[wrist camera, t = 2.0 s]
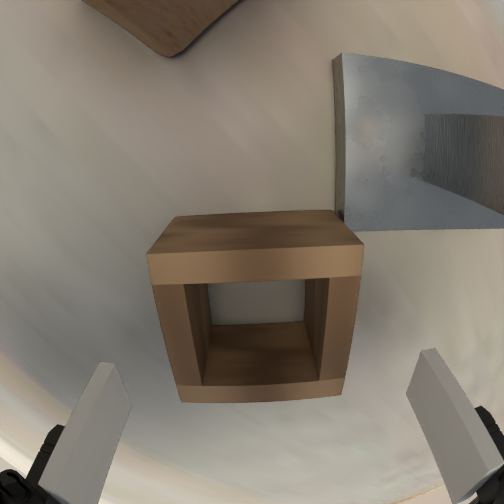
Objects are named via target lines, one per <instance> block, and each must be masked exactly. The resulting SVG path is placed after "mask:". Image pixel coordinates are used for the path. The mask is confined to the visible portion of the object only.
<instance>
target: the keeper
mask: <svg viewBox="0 0 504 504" xmlns="http://www.w3.org/2000/svg"><path fill="white" fill-rule="evenodd" d="M332 62H333V78H334V98H335V132H336V189H335V214H336V215H337V217H338V218H339V219H340V220H341V221H342V222H343V223H344V224H345V225H346V226H347V227H348V228H349V229H350V230H351V231H352V232H353V231H387V230H430V229H500V228H504V90H503V89H500V88H498V87H495V86H492V85H489V84H487V83H484V82H481V81H478V80H475V79H471V78H468V77H465V76H462V75H458V74H455V73H451V72H447V71H444V70H440V69H436V68H432V67H427V66H423V65H418V64H414V63H409V62H404V61H398V60H393V59H387V58H380V57H374V56H366V55H358V54H350V53H341V54H340V55H338V56H337V57H336V58H334V59H333V60H332Z"/></svg>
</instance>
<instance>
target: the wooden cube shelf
mask: <svg viewBox="0 0 504 504" xmlns="http://www.w3.org/2000/svg"><path fill="white" fill-rule="evenodd" d="M363 251H364V244H363V243H362V242H361V241H360V240H359V239H358V238H357V236H356V235H355V234H354V233H353V232H352V231H351V230H350V229H349V228H348V227H347V226H346V225H345V224H344V223H343V222H342V221H341V220H340V219H339V218H338V217H337V215H336V214H335V213H334V212H333V211H332V210H308V211H277V212H252V213H231V214H212V215H196V216H180V217H175V218H174V219H173V220H172V222H171V223H170V224H169V225H168V227H167V228H166V229H165V231H164V232H163V233H162V234H161V236H160V237H159V238H158V239H157V241H156V242H155V243H154V245H153V246H152V247H151V248H150V250H149V251H148V252H147V254H146V257H147V262H148V268H149V273H150V278H151V283H152V288H153V293H154V298H155V302H156V307H157V312H158V316H159V320H160V325H161V329H162V333H163V337H164V341H165V345H166V349H167V353H168V357H169V361H170V364H171V368H172V372H173V375H174V379H175V382H176V386H177V389H178V393H179V396H180V399H181V402H195V403H248V402H271V401H287V400H300V399H311V398H320V397H329V396H337V395H341V394H342V389H343V384H344V380H345V375H346V370H347V364H348V359H349V354H350V348H351V342H352V336H353V330H354V324H355V317H356V310H357V303H358V296H359V288H360V280H361V271H362V261H363ZM295 279H306V287H305V310H304V321H303V322H288V323H270V324H247V325H212V321H211V313H210V306H209V298H208V290H207V283H229V282H254V281H276V280H295Z"/></svg>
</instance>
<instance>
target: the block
mask: <svg viewBox="0 0 504 504" xmlns="http://www.w3.org/2000/svg"><path fill="white" fill-rule="evenodd" d="M82 1H84V2H86V3H87V4H89V5H90V6H92V7H93V8H95V9H96V10H98V11H99V12H101V13H102V14H104V15H105V16H107V17H108V18H110V19H111V20H112V21H114V22H115V23H117V24H118V25H120V26H121V27H122V28H124V29H125V30H127V31H128V32H129V33H131V34H132V35H133V36H135V37H136V38H138V39H139V40H140V41H142V42H143V43H144V44H146V45H147V46H148V47H150V48H151V49H152V50H153V51H155V52H156V53H157V54H160V55H164V56H169V57H171V56H174V55H175V54H177V53H179V52H181V51H183V50H184V49H185V48H186V47H187V46H188V45H189V44H190V43H191V42H192V41H193V40H194V39H195V38H196V37H197V36H198V35H199V34H200V33H201V32H202V31H204V30H205V29H206V28H207V27H208V26H209V25H210V24H211V23H212V22H214V21H215V20H216V19H217V18H218V17H219V16H220V15H222V14H223V13H224V12H225V11H226V10H227V9H229V8H230V7H231V6H232V5H233V4H235V3H236V2H237V1H238V0H82Z"/></svg>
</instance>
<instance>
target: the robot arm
mask: <svg viewBox="0 0 504 504" xmlns="http://www.w3.org/2000/svg"><path fill="white" fill-rule="evenodd" d="M406 395H407V397H408V399H409V401H410V404H411V406H412V408H413V410H414V412H415V414H416V417H417V419H418V421H419V423H420V425H421V428H422V430H423V432H424V434H425V437H426V439H427V441H428V444H429V446H430V448H431V451H432V453H433V455H434V458H435V460H436V463H437V465H438V468H439V470H440V472H441V475H442V477H443V480H444V483H445V485H446V487H447V490H448V493H449V496H450V498H451V501H452V504H457V503H460V502H462V501H464V500H466V499H468V498H470V497H471V496H472V495H473V494H474V493H475V492H477V495H478V496H477V497H476V498H475V499H474V500H473V501H472V502H470V503H469V504H504V435H503V434H502V432H501V431H500V428H499V427H498V425H497V424H495V420H494V419H493V417H492V415H491V414H490V412H488V411H487V410H486V409H485V408H483V407H482V406H479V407H477V408H474V407H473V405H472V404H471V402H470V401H469V399H468V397H467V396H466V394H465V393H464V391H463V389H462V388H461V386H460V385H459V383H458V382H457V380H456V378H455V377H454V375H453V374H452V372H451V371H450V369H449V368H448V366H447V365H446V363H445V362H444V360H443V359H442V357H441V356H440V354H439V353H438V352H437V350H436V349H435V348H433V349H428V350H423V351H421V353H420V356H419V359H418V362H417V365H416V368H415V370H414V373H413V376H412V379H411V382H410V384H409V387H408V389H407V392H406ZM131 407H132V403H131V401H130V399H129V396H128V394H127V392H126V389H125V387H124V384H123V382H122V380H121V377H120V375H119V372H118V370H117V367H116V364H115V363H108V362H100V363H99V365H98V366H97V368H96V370H95V372H94V374H93V375H92V377H91V379H90V381H89V382H88V384H87V386H86V388H85V390H84V392H83V393H82V395H81V397H80V399H79V401H78V403H77V405H76V407H75V408H74V410H73V412H72V414H71V416H70V418H69V420H68V422H67V424H66V426H62V425H58V424H57V425H56V426H55V427H54V428H53V429H52V430H51V431H50V432H49V433H48V435H47V437H46V439H45V441H44V444H43V445H42V447H41V449H40V452H38V454H37V457H36V459H35V461H34V463H33V465H32V467H31V469H30V471H29V473H28V475H27V477H26V479H24V478H23V477H22V476H21V475H20V474H19V473H18V472H17V471H15V470H12V469H8V470H4V471H2V472H1V473H0V504H98V502H99V499H100V495H101V492H102V489H103V486H104V483H105V480H106V477H107V474H108V471H109V468H110V465H111V462H112V459H113V457H114V454H115V451H116V448H117V445H118V442H119V440H120V437H121V434H122V431H123V428H124V426H125V423H126V420H127V418H128V415H129V412H130V410H131Z"/></svg>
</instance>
